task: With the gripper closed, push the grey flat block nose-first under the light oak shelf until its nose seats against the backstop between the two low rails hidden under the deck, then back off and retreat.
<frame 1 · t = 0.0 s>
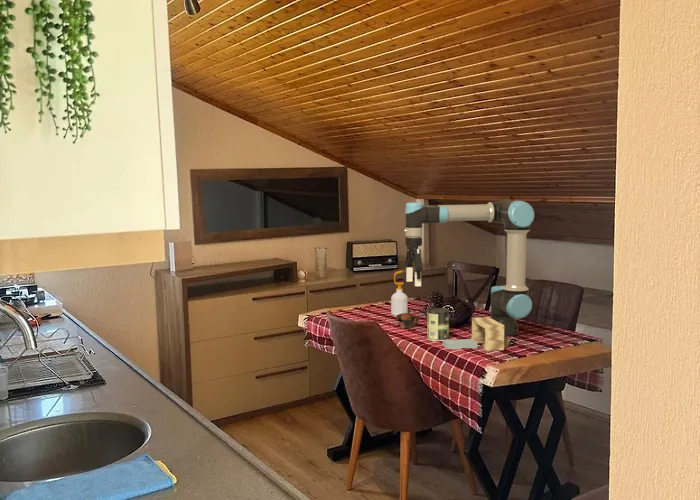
hand: (413, 283, 303), 28 cm above the table, tool pointing down, fingers open, 13 cm apart
pottery mug: (407, 327, 342), on the table
coffee can: (437, 339, 316), on the table
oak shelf: (487, 345, 304), on the table
grey flat block: (460, 347, 302), on the table
soap bottle: (399, 315, 372), on the table
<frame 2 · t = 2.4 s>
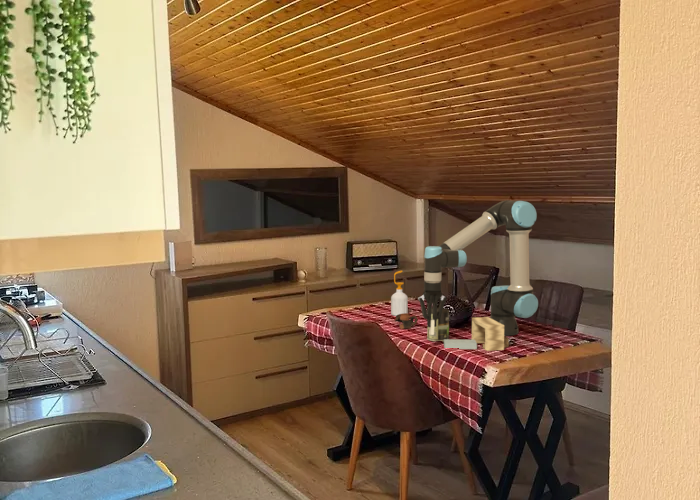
hand: (431, 334, 298), 7 cm above the table, tool pointing down, fingers closed
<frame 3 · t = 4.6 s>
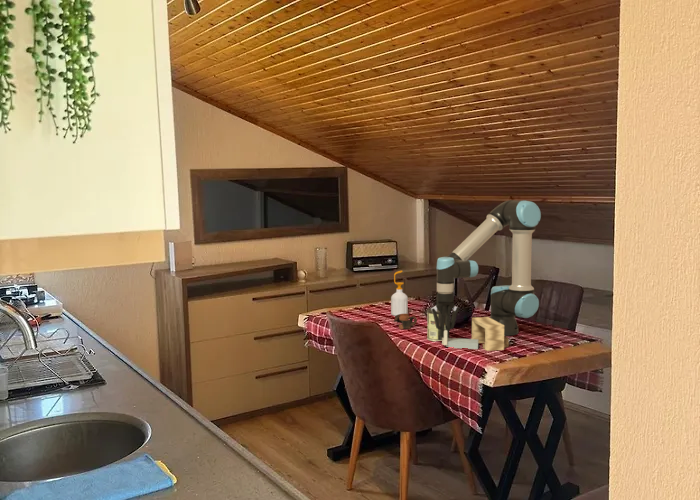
hand: (444, 344, 300), 2 cm above the table, tool pointing down, fingers closed
grey flat block: (462, 347, 303), on the table, touching gripper
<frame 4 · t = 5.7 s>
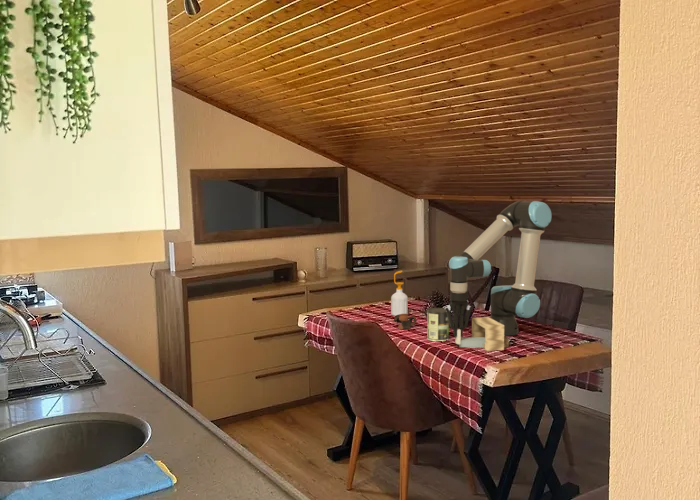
hand: (457, 343, 301), 2 cm above the table, tool pointing down, fingers closed
grey flat block: (474, 345, 304), on the table, touching gripper, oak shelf
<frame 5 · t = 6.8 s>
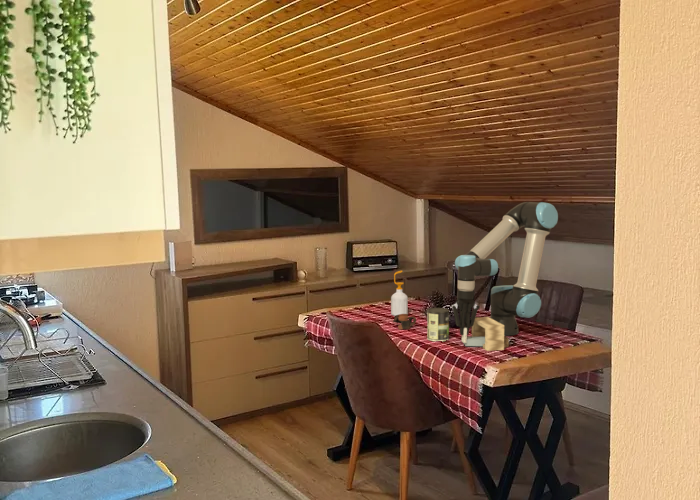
hand: (463, 342, 301), 2 cm above the table, tool pointing down, fingers closed
grey flat block: (479, 344, 304), on the table, touching gripper, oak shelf
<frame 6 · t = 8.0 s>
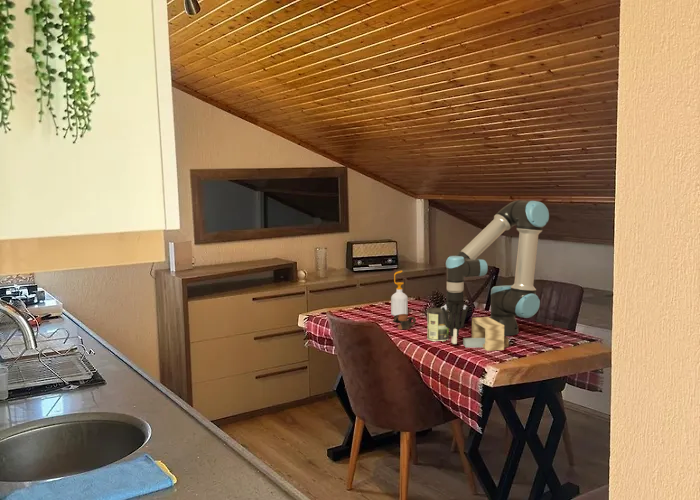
hand: (454, 343, 301), 2 cm above the table, tool pointing down, fingers closed
grey flat block: (479, 346, 304), on the table
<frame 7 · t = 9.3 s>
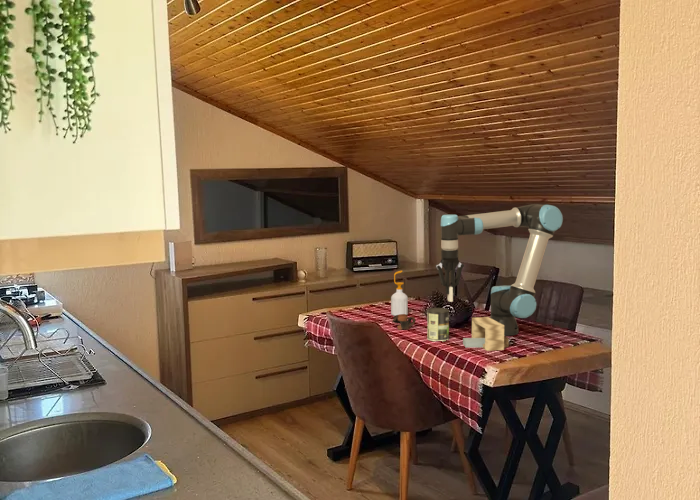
hand: (450, 301, 304), 20 cm above the table, tool pointing down, fingers closed
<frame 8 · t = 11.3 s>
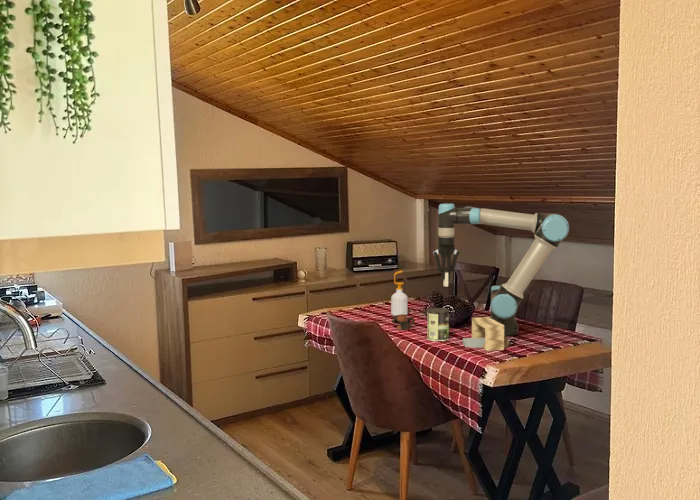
hand: (445, 286, 319), 24 cm above the table, tool pointing down, fingers closed
at the end: grey flat block 2.3 cm from the target spot on the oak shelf, point -0.5 cm above the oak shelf's base; grey flat block tilted 0° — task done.
